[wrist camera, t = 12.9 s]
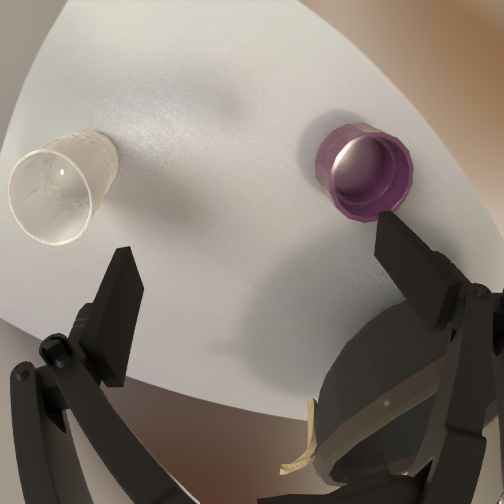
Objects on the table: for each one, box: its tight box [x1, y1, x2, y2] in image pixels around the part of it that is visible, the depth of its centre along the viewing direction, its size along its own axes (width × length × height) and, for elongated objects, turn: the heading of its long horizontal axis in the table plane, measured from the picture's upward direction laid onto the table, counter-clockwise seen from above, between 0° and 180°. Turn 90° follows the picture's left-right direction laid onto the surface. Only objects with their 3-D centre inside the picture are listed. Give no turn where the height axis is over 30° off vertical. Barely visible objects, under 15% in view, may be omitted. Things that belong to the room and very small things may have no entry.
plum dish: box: [315, 123, 414, 223], centre depth 30 cm, size 9×9×5 cm
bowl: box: [280, 300, 498, 487], centre depth 39 cm, size 35×35×20 cm
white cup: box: [8, 130, 119, 245], centre depth 24 cm, size 8×8×10 cm
